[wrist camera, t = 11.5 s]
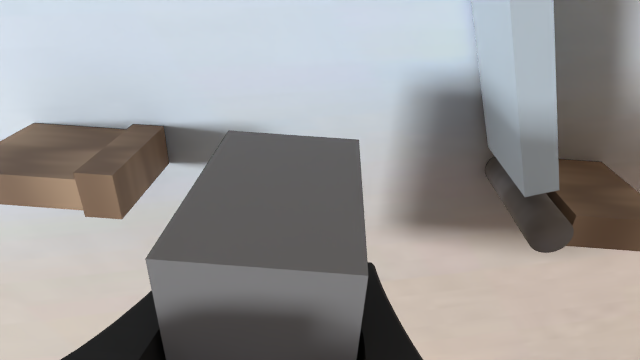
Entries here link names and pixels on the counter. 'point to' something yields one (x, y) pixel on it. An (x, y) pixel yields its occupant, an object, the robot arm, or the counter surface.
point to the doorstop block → (265, 253)
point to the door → (519, 89)
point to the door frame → (151, 159)
